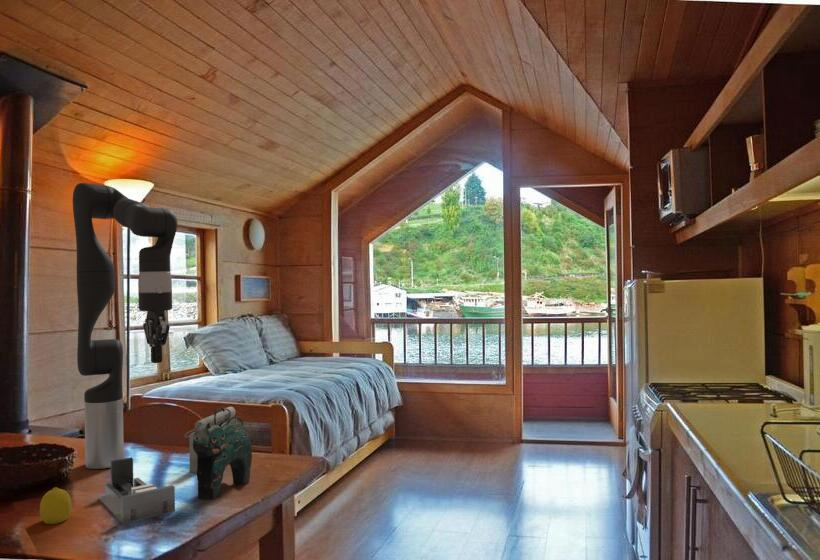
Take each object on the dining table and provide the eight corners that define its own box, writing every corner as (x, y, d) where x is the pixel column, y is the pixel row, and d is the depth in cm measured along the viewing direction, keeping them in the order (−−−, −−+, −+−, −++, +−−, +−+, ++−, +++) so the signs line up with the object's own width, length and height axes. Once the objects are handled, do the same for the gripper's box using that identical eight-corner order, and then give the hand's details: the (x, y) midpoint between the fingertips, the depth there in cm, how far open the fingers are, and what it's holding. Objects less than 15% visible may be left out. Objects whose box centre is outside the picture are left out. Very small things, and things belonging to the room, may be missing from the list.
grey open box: (97, 504, 139) (97, 474, 139) (145, 493, 145) (144, 465, 145) (123, 531, 123) (122, 497, 123) (175, 518, 130) (174, 486, 130)
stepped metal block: (111, 492, 141) (110, 461, 141) (131, 488, 144) (131, 457, 144) (122, 503, 134) (121, 470, 134) (144, 498, 137) (143, 466, 137)
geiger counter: (203, 422, 156) (249, 402, 180) (179, 421, 157) (228, 401, 181) (204, 479, 156) (249, 451, 180) (180, 477, 157) (229, 450, 181)
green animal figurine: (212, 509, 134) (211, 415, 134) (185, 507, 136) (184, 414, 136) (257, 480, 154) (255, 397, 154) (233, 479, 155) (231, 397, 155)
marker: (131, 512, 129) (130, 487, 129) (152, 507, 132) (151, 483, 132) (137, 517, 126) (136, 492, 126) (158, 512, 129) (157, 487, 129)
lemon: (48, 523, 128) (47, 483, 128) (76, 521, 129) (76, 482, 129) (34, 534, 123) (33, 492, 123) (64, 532, 123) (63, 491, 123)
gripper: (131, 291, 156) (132, 361, 156) (147, 291, 145) (148, 367, 145) (162, 290, 160) (163, 358, 161) (180, 290, 150) (181, 363, 150)
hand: (156, 362), depth 153 cm, fingers closed
